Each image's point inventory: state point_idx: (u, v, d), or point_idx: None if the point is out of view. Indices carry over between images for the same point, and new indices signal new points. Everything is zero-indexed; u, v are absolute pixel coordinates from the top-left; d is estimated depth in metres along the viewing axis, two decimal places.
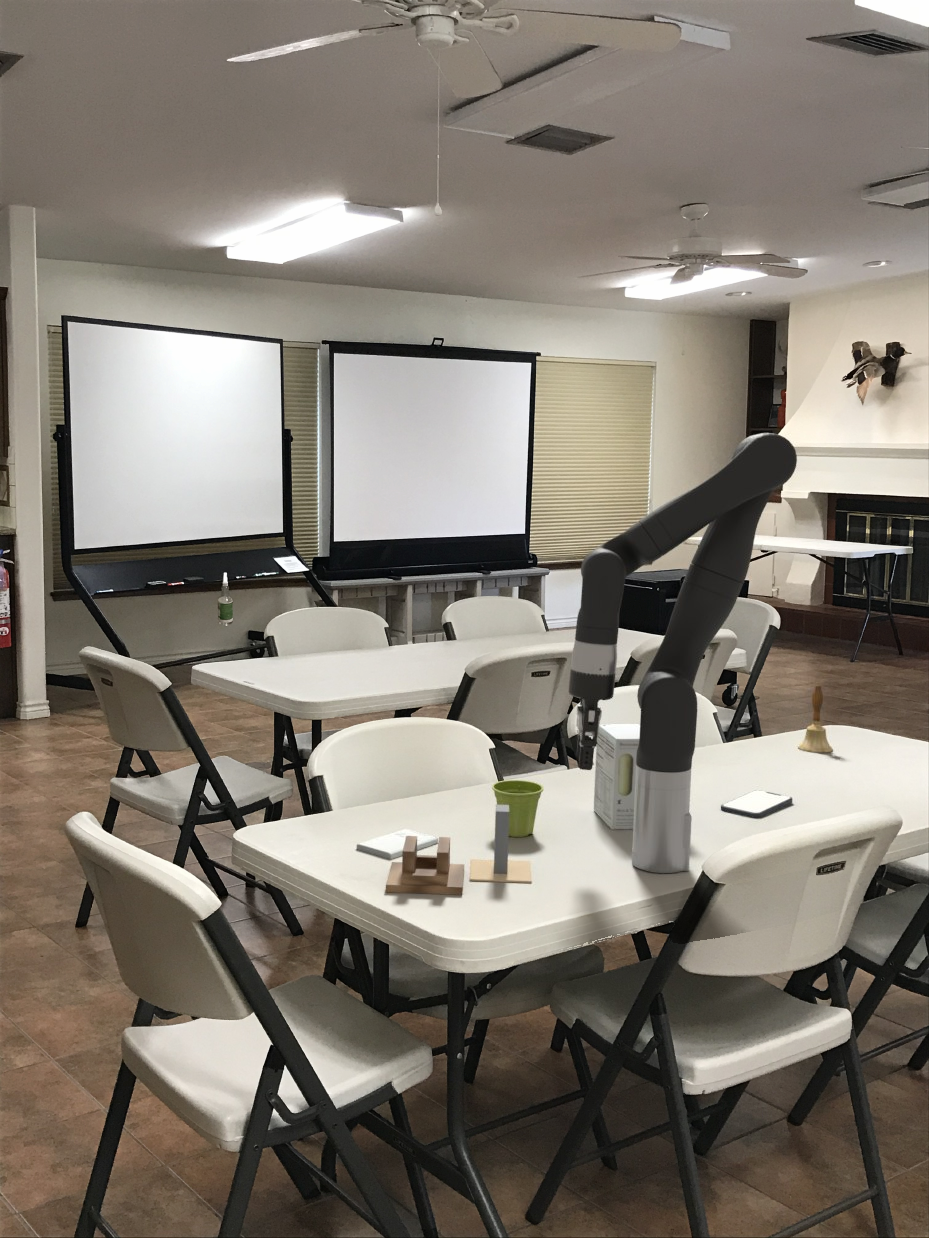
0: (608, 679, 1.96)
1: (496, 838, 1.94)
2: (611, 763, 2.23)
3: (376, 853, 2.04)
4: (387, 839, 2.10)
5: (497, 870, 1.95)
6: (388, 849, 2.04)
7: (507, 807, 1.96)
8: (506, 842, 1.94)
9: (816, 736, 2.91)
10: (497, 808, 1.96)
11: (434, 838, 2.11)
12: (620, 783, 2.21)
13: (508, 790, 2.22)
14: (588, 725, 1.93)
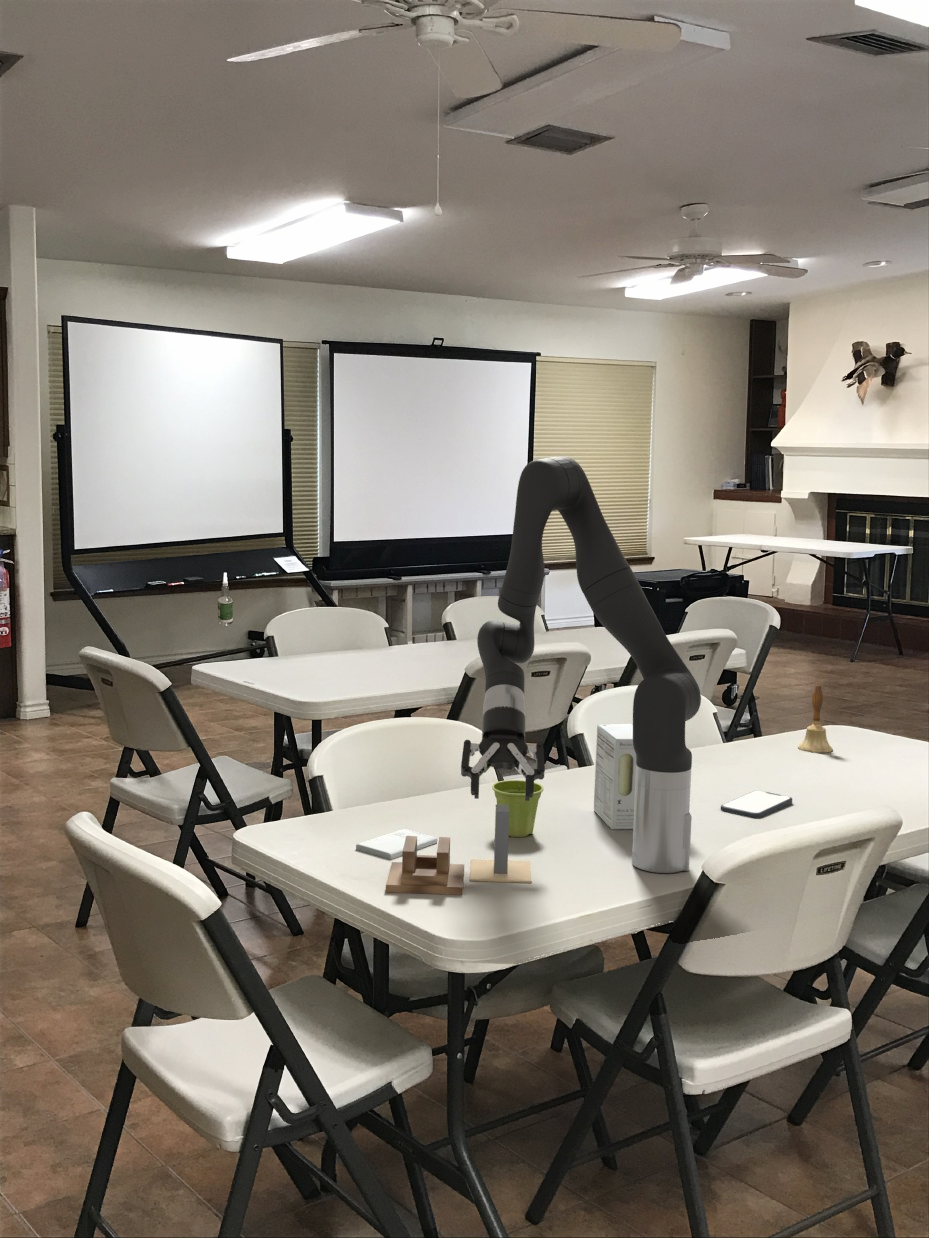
0: (488, 713, 2.07)
1: (496, 838, 1.94)
2: (611, 763, 2.23)
3: (376, 853, 2.04)
4: (386, 839, 2.09)
5: (497, 870, 1.95)
6: (388, 849, 2.04)
7: (507, 807, 1.96)
8: (506, 842, 1.94)
9: (816, 736, 2.91)
10: (497, 808, 1.96)
11: (433, 838, 2.11)
12: (620, 783, 2.21)
13: (508, 790, 2.22)
14: None
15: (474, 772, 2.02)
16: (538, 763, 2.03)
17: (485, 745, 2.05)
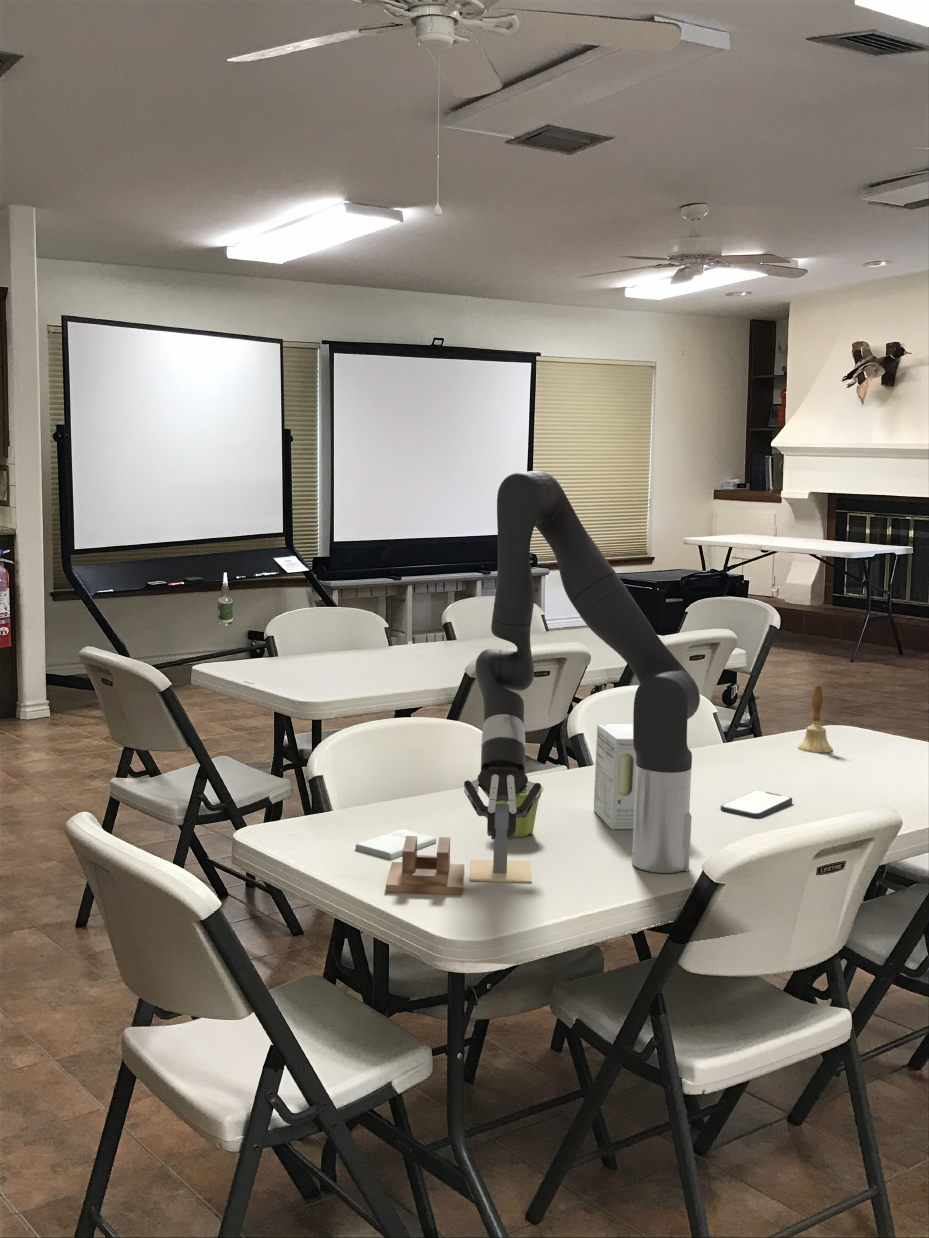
0: (487, 744, 2.02)
1: (495, 838, 1.94)
2: (611, 763, 2.23)
3: (376, 853, 2.04)
4: (386, 839, 2.09)
5: (496, 869, 1.95)
6: (388, 849, 2.04)
7: (506, 807, 1.96)
8: (505, 842, 1.94)
9: (816, 736, 2.91)
10: (496, 808, 1.95)
11: (432, 838, 2.11)
12: (620, 783, 2.21)
13: None
14: (470, 798, 1.99)
15: (492, 812, 1.96)
16: (524, 801, 1.97)
17: (484, 777, 2.00)
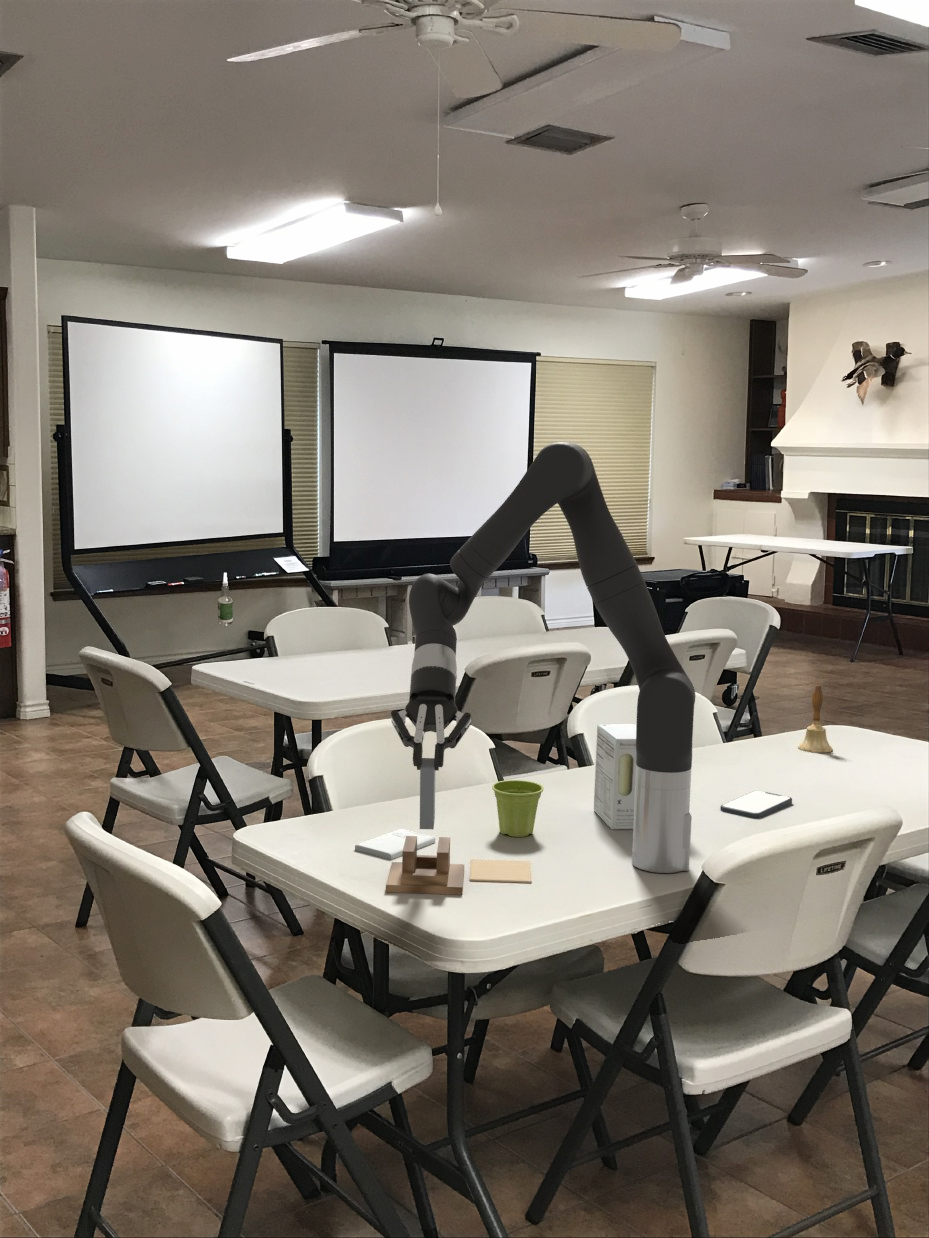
0: (415, 674, 1.95)
1: (421, 794, 1.87)
2: (611, 763, 2.23)
3: (376, 854, 2.04)
4: (385, 840, 2.09)
5: (423, 825, 1.89)
6: (388, 850, 2.04)
7: (433, 762, 1.88)
8: (432, 798, 1.88)
9: (816, 736, 2.91)
10: (422, 763, 1.88)
11: (431, 838, 2.12)
12: (620, 783, 2.21)
13: (508, 790, 2.22)
14: (396, 728, 1.92)
15: (418, 741, 1.89)
16: (453, 730, 1.90)
17: (412, 707, 1.93)
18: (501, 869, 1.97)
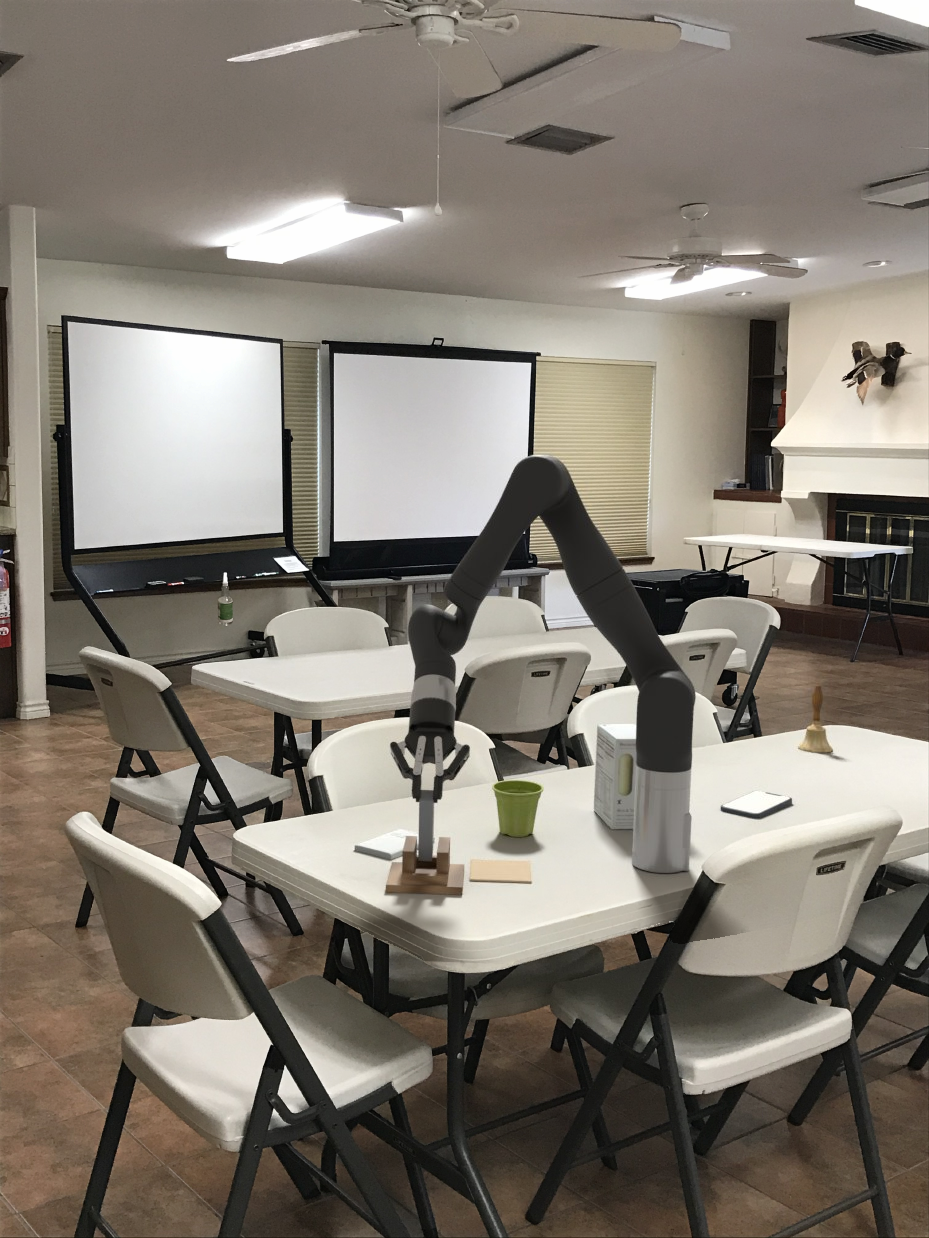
0: (415, 705, 1.96)
1: (420, 827, 1.88)
2: (611, 763, 2.23)
3: (375, 854, 2.04)
4: (384, 840, 2.09)
5: (421, 857, 1.90)
6: (388, 850, 2.04)
7: (432, 794, 1.89)
8: (430, 830, 1.88)
9: (816, 736, 2.91)
10: (421, 796, 1.88)
11: None
12: (620, 783, 2.21)
13: (508, 790, 2.22)
14: (395, 760, 1.93)
15: (417, 774, 1.89)
16: (452, 763, 1.91)
17: (411, 738, 1.93)
18: (501, 869, 1.97)
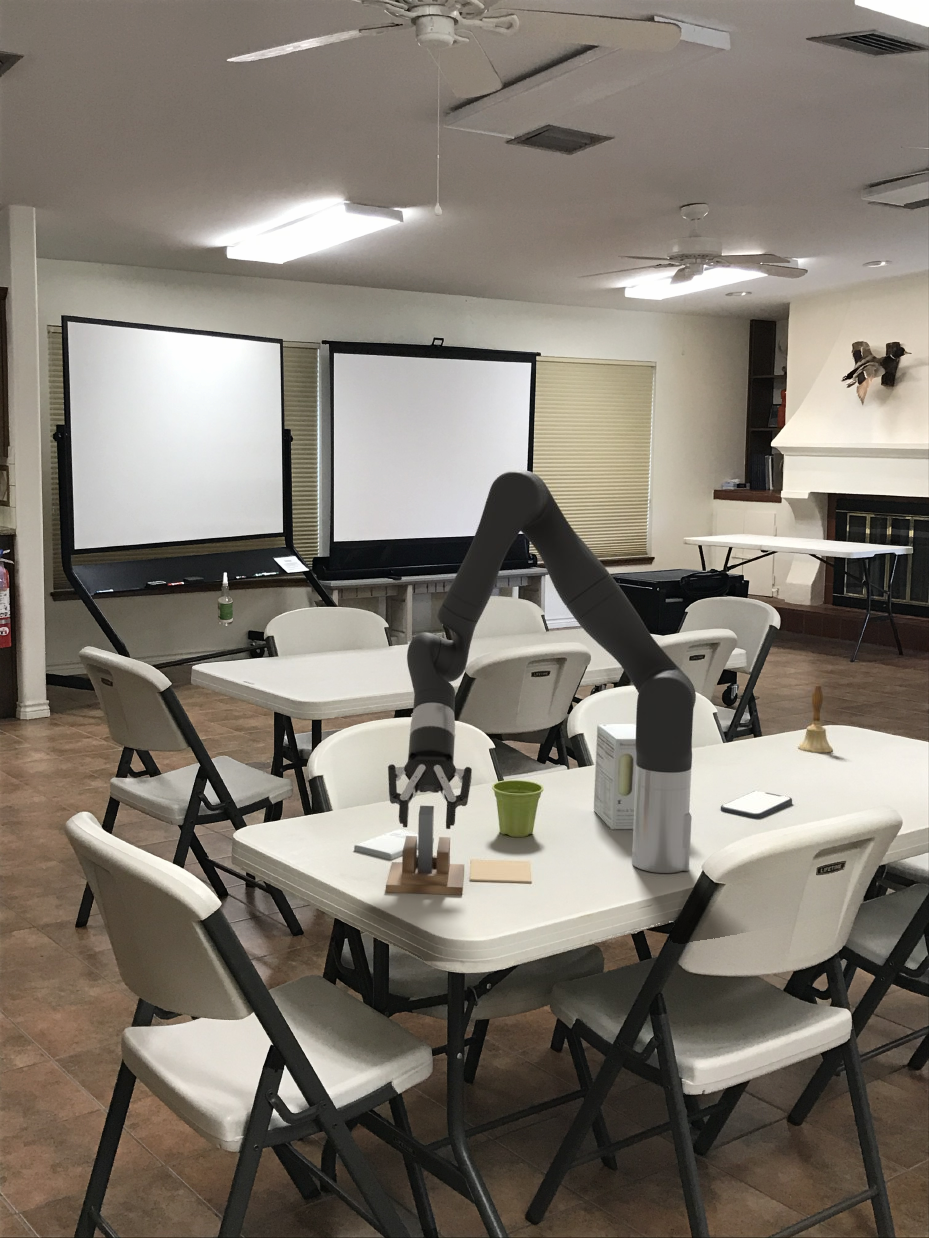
0: (414, 733, 1.96)
1: (419, 841, 1.89)
2: (611, 763, 2.23)
3: (375, 854, 2.04)
4: (384, 840, 2.09)
5: None
6: (388, 850, 2.04)
7: (431, 809, 1.90)
8: (430, 845, 1.89)
9: (816, 736, 2.91)
10: (421, 810, 1.89)
11: None
12: (620, 783, 2.21)
13: (508, 790, 2.22)
14: None
15: (403, 799, 1.90)
16: (462, 788, 1.91)
17: (411, 767, 1.94)
18: (501, 869, 1.97)
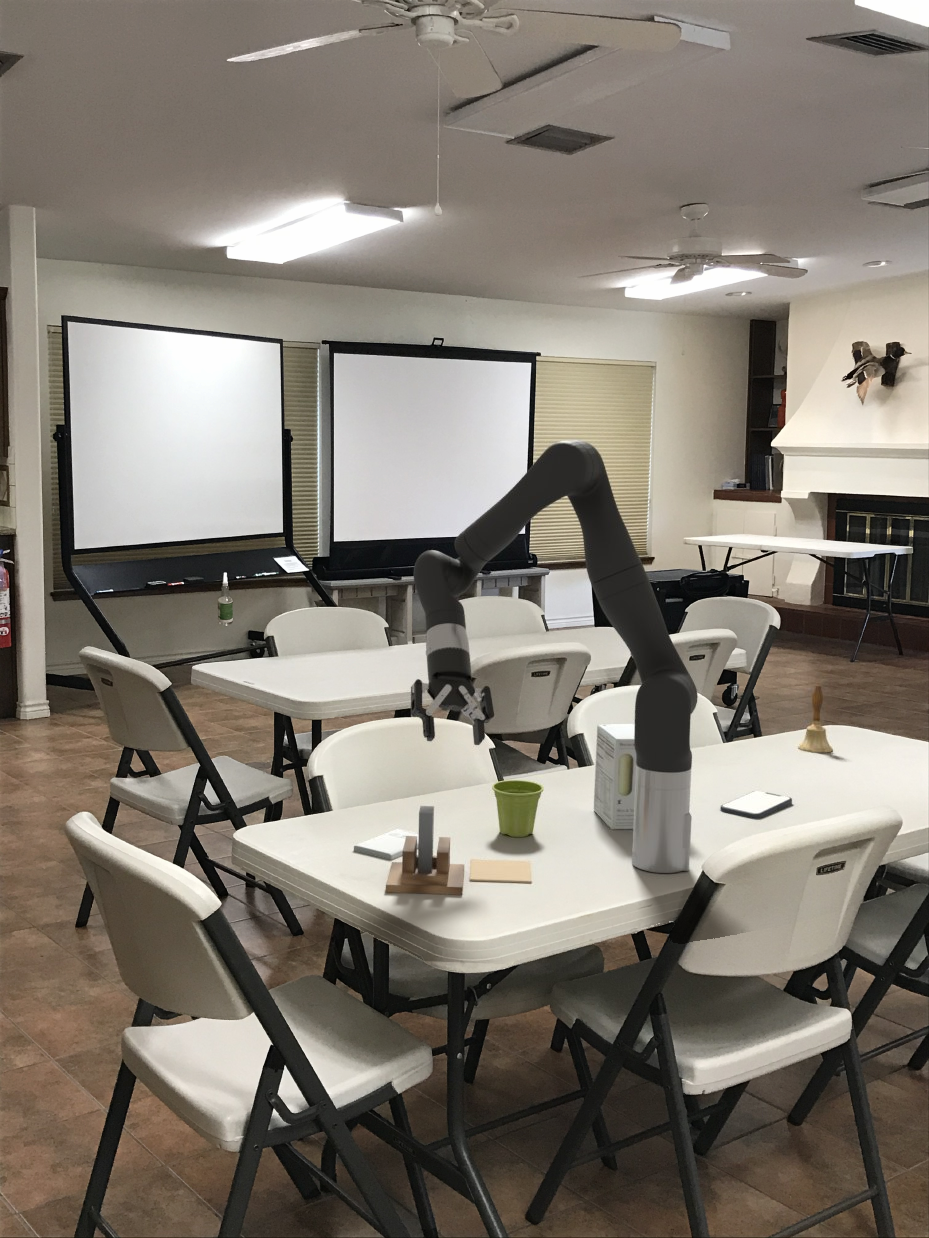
0: (438, 653, 2.04)
1: (420, 840, 1.89)
2: (611, 763, 2.23)
3: (375, 854, 2.04)
4: (383, 840, 2.09)
5: None
6: (388, 850, 2.04)
7: (432, 808, 1.91)
8: (430, 844, 1.89)
9: (816, 736, 2.91)
10: (421, 809, 1.90)
11: None
12: (620, 783, 2.21)
13: (508, 790, 2.22)
14: (412, 696, 2.01)
15: (428, 714, 1.99)
16: (487, 708, 2.04)
17: (436, 686, 2.02)
18: (501, 869, 1.97)
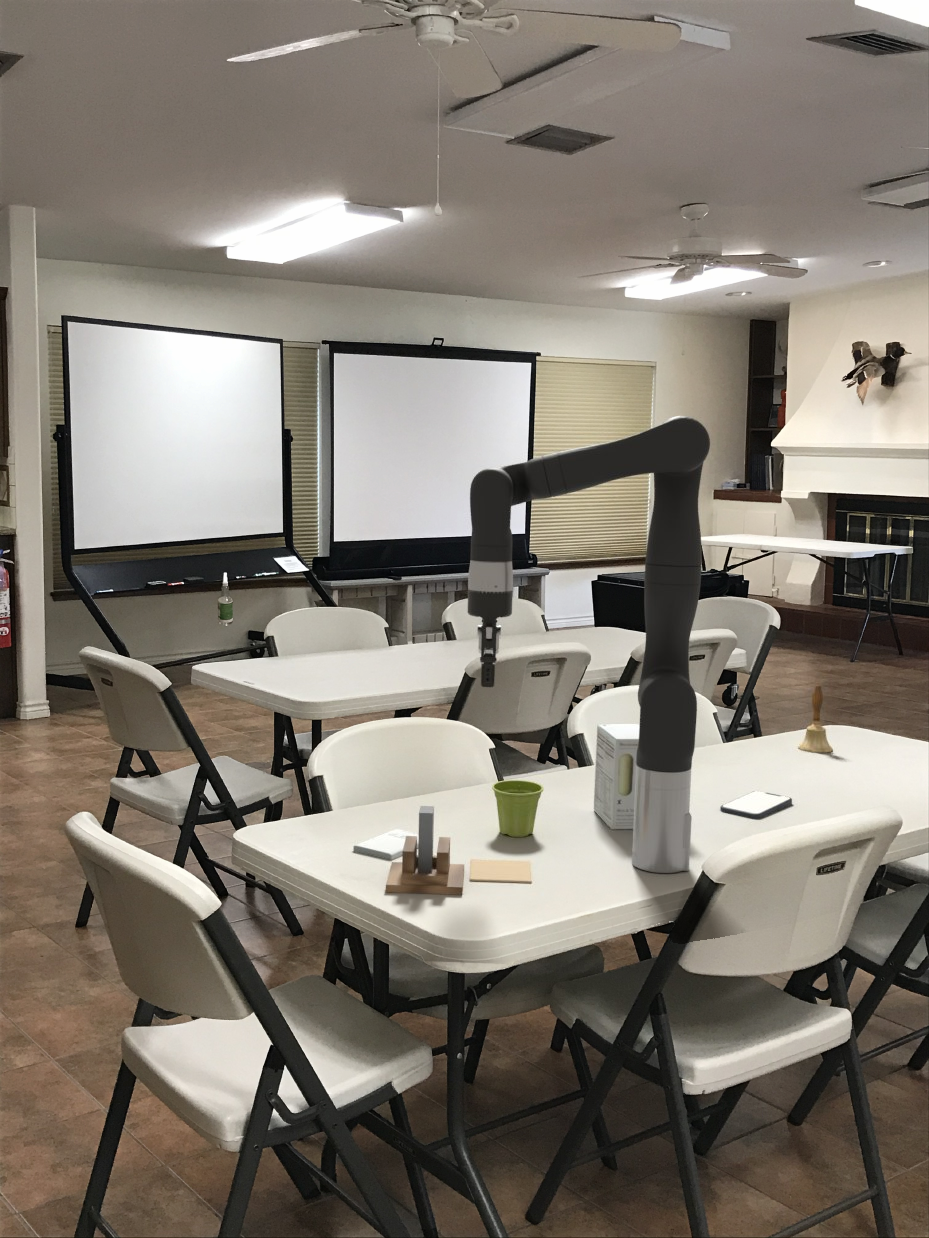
0: (504, 596, 1.98)
1: (420, 840, 1.89)
2: (611, 763, 2.23)
3: (375, 854, 2.04)
4: (383, 840, 2.09)
5: None
6: (388, 850, 2.04)
7: (432, 808, 1.91)
8: (430, 844, 1.89)
9: (816, 736, 2.91)
10: (421, 809, 1.90)
11: None
12: (620, 783, 2.21)
13: (508, 790, 2.22)
14: (486, 642, 1.95)
15: None
16: None
17: None
18: (501, 869, 1.97)
